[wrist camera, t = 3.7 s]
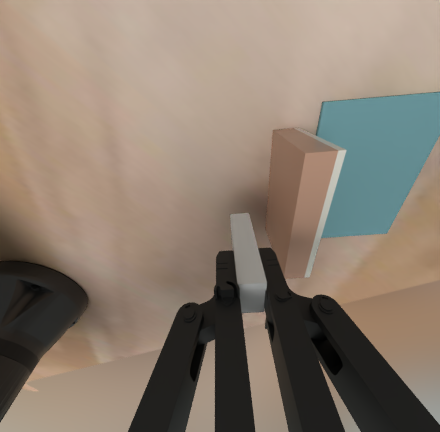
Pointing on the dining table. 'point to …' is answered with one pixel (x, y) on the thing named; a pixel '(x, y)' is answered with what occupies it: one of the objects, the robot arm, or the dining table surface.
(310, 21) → the dining table surface
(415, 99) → the felt mat
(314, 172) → the tile
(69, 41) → the dining table surface
